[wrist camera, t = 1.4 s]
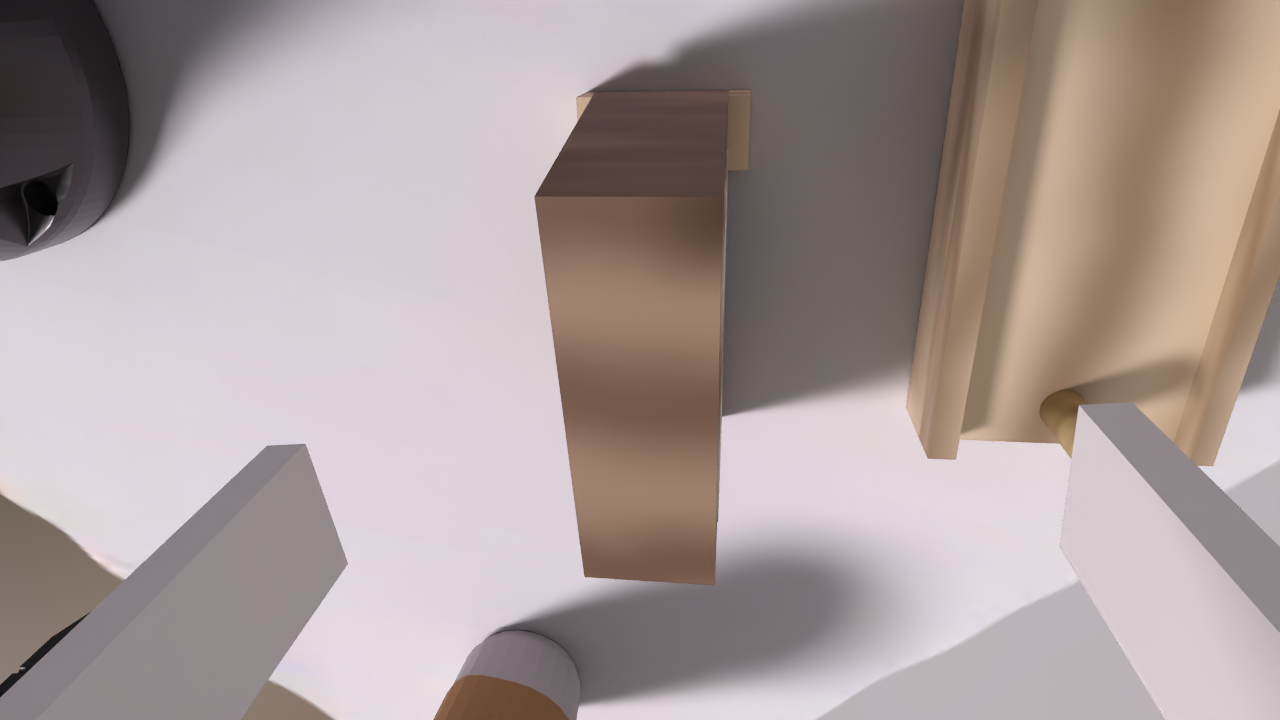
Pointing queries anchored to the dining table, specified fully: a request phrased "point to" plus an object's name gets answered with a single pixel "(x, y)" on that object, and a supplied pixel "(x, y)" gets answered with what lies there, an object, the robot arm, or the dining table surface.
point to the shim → (736, 126)
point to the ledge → (1100, 220)
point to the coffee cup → (514, 681)
